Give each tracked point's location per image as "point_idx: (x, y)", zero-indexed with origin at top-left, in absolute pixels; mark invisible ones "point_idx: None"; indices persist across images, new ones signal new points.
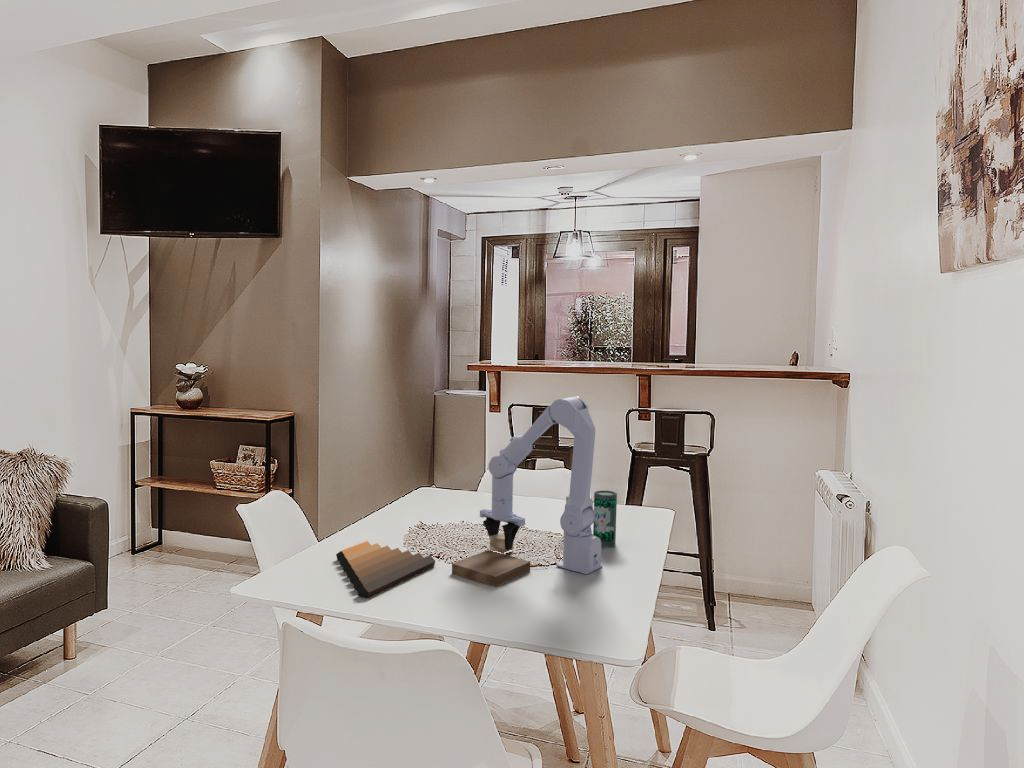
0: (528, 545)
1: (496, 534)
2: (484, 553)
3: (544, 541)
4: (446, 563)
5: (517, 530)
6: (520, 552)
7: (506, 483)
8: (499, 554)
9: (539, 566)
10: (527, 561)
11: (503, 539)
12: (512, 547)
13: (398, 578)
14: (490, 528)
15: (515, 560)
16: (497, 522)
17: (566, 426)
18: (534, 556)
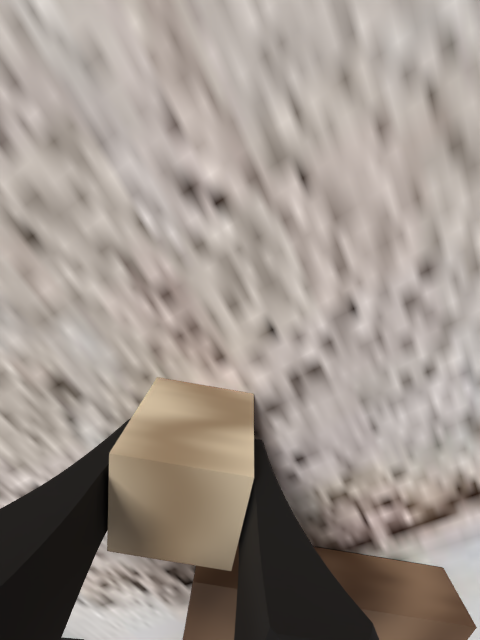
0: (287, 225)
1: (115, 503)
2: (208, 618)
3: (373, 26)
4: (95, 609)
5: (326, 575)
6: (299, 381)
7: None
8: None
9: (471, 509)
10: (461, 630)
11: (231, 564)
12: (252, 414)
13: None
14: (64, 625)
15: (396, 637)
16: (28, 610)
17: None
18: (404, 402)
